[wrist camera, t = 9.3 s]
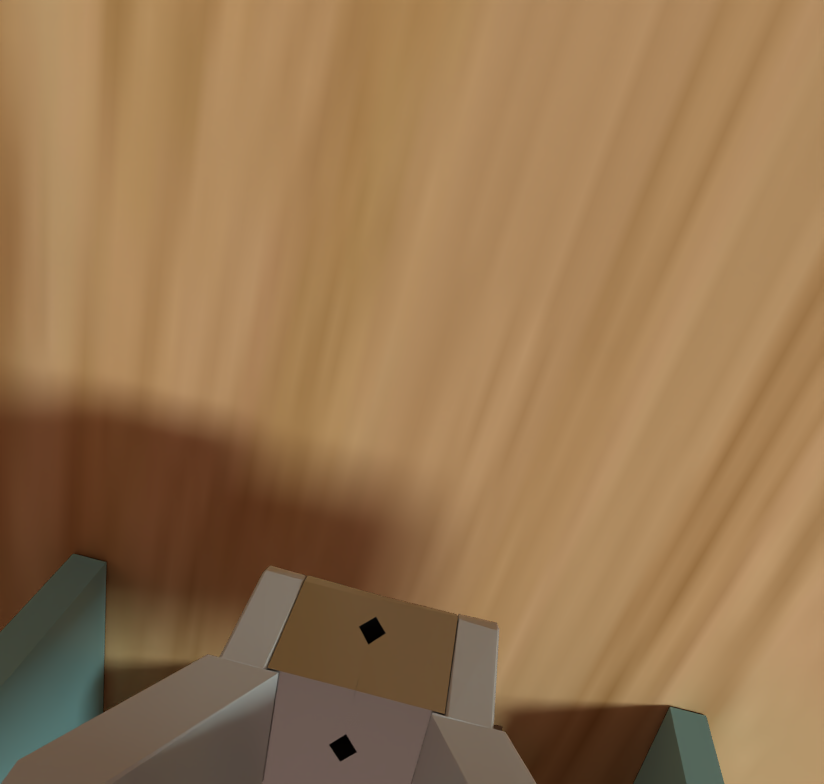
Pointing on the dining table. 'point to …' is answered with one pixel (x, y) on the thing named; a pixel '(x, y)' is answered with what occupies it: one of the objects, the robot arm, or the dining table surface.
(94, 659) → the box
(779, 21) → the dining table surface
